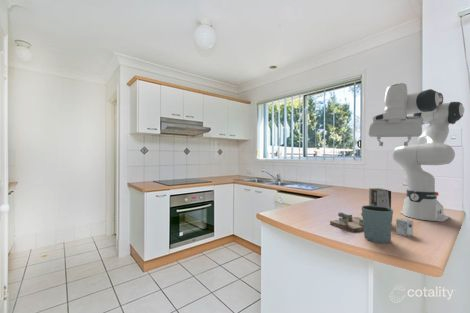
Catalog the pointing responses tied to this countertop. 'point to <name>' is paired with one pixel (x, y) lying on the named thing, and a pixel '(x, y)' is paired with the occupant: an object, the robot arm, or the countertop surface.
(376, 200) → the coffee box
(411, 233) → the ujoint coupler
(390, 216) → the teal grey open container
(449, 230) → the countertop surface
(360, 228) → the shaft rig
